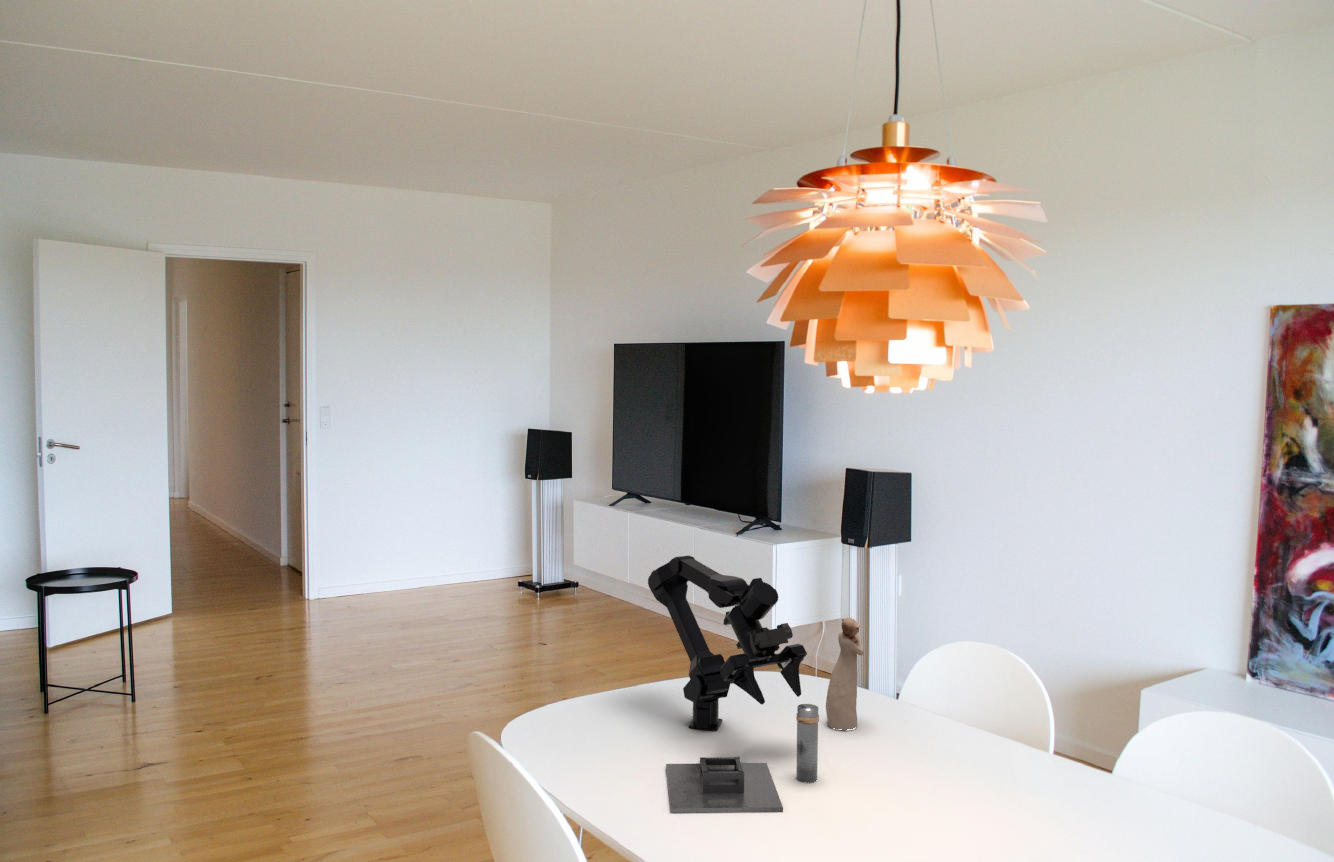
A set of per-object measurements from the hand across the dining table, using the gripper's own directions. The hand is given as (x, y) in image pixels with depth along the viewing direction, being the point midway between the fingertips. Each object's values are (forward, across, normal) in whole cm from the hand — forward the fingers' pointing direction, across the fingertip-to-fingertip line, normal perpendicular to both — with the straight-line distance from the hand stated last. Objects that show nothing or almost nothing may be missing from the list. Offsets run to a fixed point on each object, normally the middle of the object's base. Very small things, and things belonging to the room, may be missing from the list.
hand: (781, 699), depth 192 cm
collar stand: (+12, -16, +7) cm, 21 cm away
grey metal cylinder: (+15, 0, +4) cm, 15 cm away
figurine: (+3, +26, +17) cm, 31 cm away
